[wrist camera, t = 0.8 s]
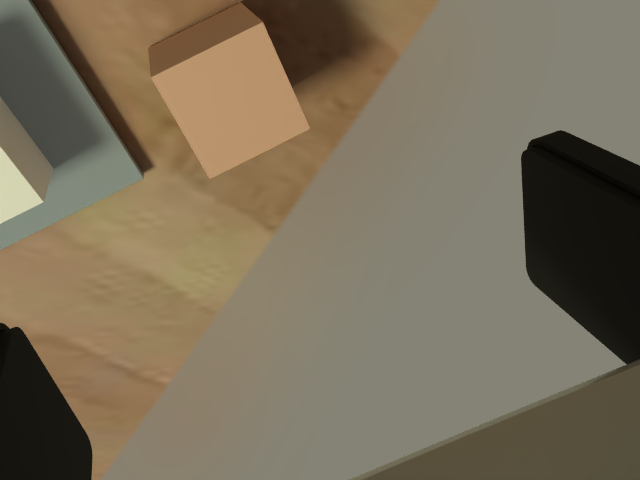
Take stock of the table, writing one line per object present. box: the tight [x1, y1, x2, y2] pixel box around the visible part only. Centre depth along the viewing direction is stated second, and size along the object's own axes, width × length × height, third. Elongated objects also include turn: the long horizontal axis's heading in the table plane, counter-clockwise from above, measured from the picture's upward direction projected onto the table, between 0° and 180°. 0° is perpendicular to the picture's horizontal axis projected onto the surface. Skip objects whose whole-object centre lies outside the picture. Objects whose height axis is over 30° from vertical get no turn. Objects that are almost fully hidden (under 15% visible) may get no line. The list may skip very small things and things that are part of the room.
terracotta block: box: [148, 2, 310, 179], centre depth 28 cm, size 5×5×6 cm
